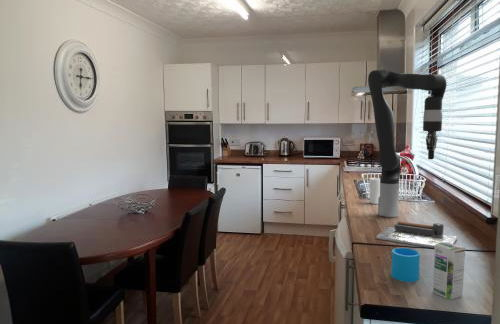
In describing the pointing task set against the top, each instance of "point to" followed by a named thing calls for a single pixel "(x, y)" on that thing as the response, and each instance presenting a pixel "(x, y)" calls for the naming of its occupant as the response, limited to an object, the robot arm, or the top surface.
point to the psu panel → (414, 237)
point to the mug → (405, 264)
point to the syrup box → (448, 270)
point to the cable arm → (420, 228)
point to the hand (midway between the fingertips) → (430, 159)
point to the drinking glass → (374, 190)
